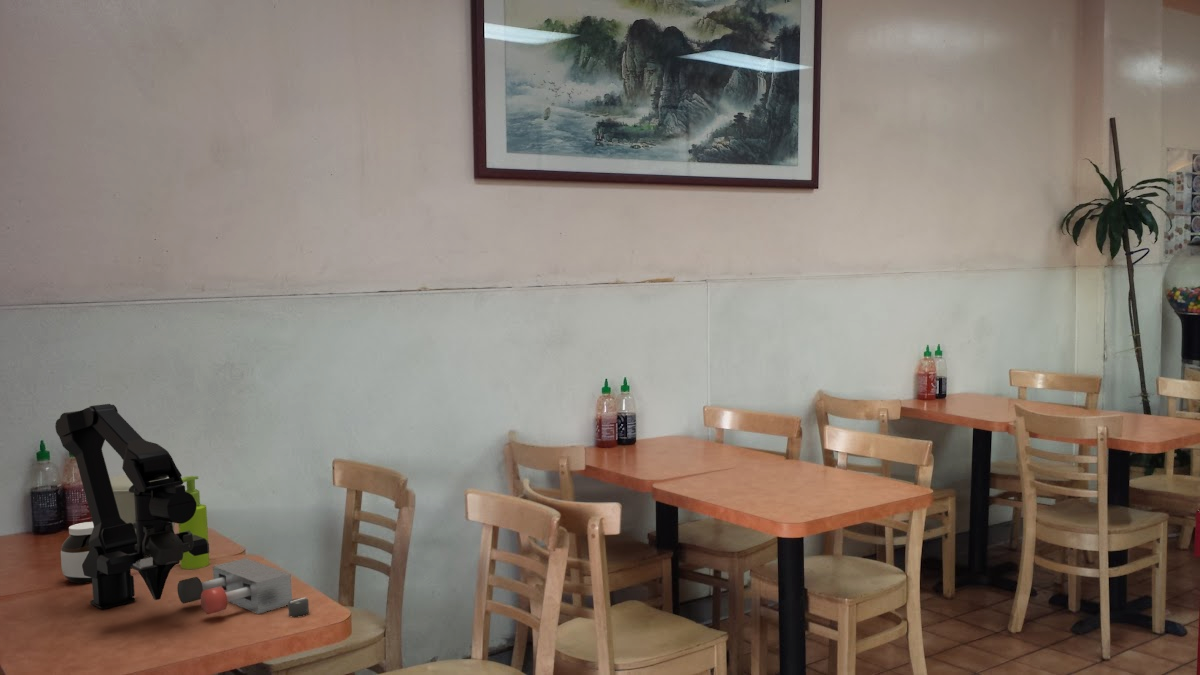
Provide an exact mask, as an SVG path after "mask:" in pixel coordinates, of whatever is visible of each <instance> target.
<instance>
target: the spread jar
mask: <svg viewBox="0 0 1200 675" xmlns="http://www.w3.org/2000/svg"><path fill="white" fill-rule="evenodd" d="M93 528H94V525H93V521H84V522H80V523H76V524H72V525H70V526H69V527H68V534H69V536H68V537H67V538H66V539H65V540H64V541H63V543H62V545H61V547H60V563H61V564H60V565H61V571H62V574H63V576H64V577H65V578H66V579H67V580H69V581H70V582H72V583H73V582H74V583H73V584H87V583H86V582H91V583H92V578H91V577H88V576H85V575H84V572H83V568H82V564H83V562H84V560H85V559H86V557H87V555H88V553H89V551H90V548H89V539H90V536H91V534H92V531H93Z"/></svg>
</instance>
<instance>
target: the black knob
mask: <svg viewBox="0 0 1200 675" xmlns="http://www.w3.org/2000/svg"><path fill="white" fill-rule="evenodd" d="M224 586H226V577H222V578H218V579H210V580H206V581H201V579H200V578H199V577H198V576H194V577H190V578H186V579H181V580H179V581H178V583H177V588H176V589H177V590H176V591H177V595H178V599H179V601H180V602H181V603H182V604H188V603H192V602H195V601H201V593H202V591H204V590H208V589H212V588H216V587H224Z"/></svg>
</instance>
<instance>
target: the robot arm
mask: <svg viewBox="0 0 1200 675" xmlns="http://www.w3.org/2000/svg"><path fill="white" fill-rule="evenodd" d="M118 411H119V410H118V408H117V407H116V405H115V404H111V403H105V404H104V403H102V404H97V405H94V404H93V405H89V407H86V408H84V409H80V410H76V411H75V410H74V411H67V412H62V413H61V415H60V416H59V418H58V419H57V420H56V421H55V428H54V429H55V433H56V434H57V436H58V437H59V440H60V442H61V445H62V447H63V448H64V449H65V451H68V453H69V454H71V455H72V456H73V457H74V458H75V462H76V465H77V468H78V473H79V475H80V476H79V477H80V480H81V483H82V487H83V488H82V489H83V492H84V494H85V498H86V502H87V506H88V509H89V513H90V517H91V522H93V525H94V528H93V531H92V534H91V536H90V539H89V548H90V551H89V553H88V555H87V557H86V559H85V560H84V562H83V564H82V568H83V572H84V575H85V576H88V577H91V578H92V582H91V583H92V585H91V586H92V598H93V599H92V600H91V599H90V600H89V604H91V605H93V606H95V607H97V608H99V609H101V610H105V609H110V608H113V607H117V606H121V605H126V604H130V603H134V602H136V600H137V599H136V598H135V580H134V579H135V578H134V575H131V570H132V569H133V570H135V571H136V572H138V573H139V575H140V576H141V577H142V579H143V581H144V582H145V585H146V586H147V588H148V590H149V592H150V594H151V596H152V599H153V600H155V601H158V600H161V598H162V595H163V592H164V588H165V585H166V582H167V578H168V576H169V574H170V573H171V570H172V569H173V568H174V567H175V566H176V565H179V564H181V560H182V559H183V553H184V552H189V553H190V554H192V555H193V556H198V555H202V554H207V553H209V554H210V544H209V540H208V541H207V540H206V539H205V538H202V537H199V536H196V535H192V533H191V532H190V531H185V532H180V533H179V532H178V533H175V530H174V531H173V525H172V522H173V523H175V524H178V525H179V524H182V523H185V522H187V521H189V520H190V519H191V518H192V517H193V516H194V514H195V511H196V506H197V505H196V501H195V499H194V497H193V496H192V495H191V494H190V493H187V492H185V491H186V486H185V485H184V483H183V481H182V478H183V477H182V476H183V475H182V473H181V472H180V471H179V469H178V466H177V465H176V463H175V461H174V459H173V457H172V455H171V453H169V451H168V450H167V449H165V448H164V447H163V446H162V445H160V444H158V443H155V442H152V441H147V440H146V439H144V438H143V437H142V436H141V435H140V434H139V433H138V431H136V430H135V429H134V428H133V427H132V426H131V424H129V423H128V421H127V420H126V419H125V418H123V417H122V415H121V414H120V413H119V412H118ZM105 441H106V442H107V443H108V445H109V446H111V449H112V450H114V451H115V452H116V453H117V455H119V457H120V458H121V459H122V467H121V468H122V470H123V472H124V473H125V474H126V475H127V477H128V478H129V480H130V481H131V482H132V484H133V485H132V486H131V487H130V488H129V492H131V493H134V501H135V518H136V522H135V523H133V524H132V523H126V522H125V521H124V520H122V519H121V517H120V514H119V511H118V507H117V503H116V500H115V496H114V492H113V489H112V485H111V482H110V478H111V477H110V474H109V472H108V468H107V463H106V461H105V460H106V459H105V456H104V453H103V447H104V443H105ZM167 477H169V478H167ZM165 478H167V479H165ZM160 479H162V480H160ZM155 480H156V481H155ZM150 481H151V482H150ZM135 529H136V532H135Z"/></svg>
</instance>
